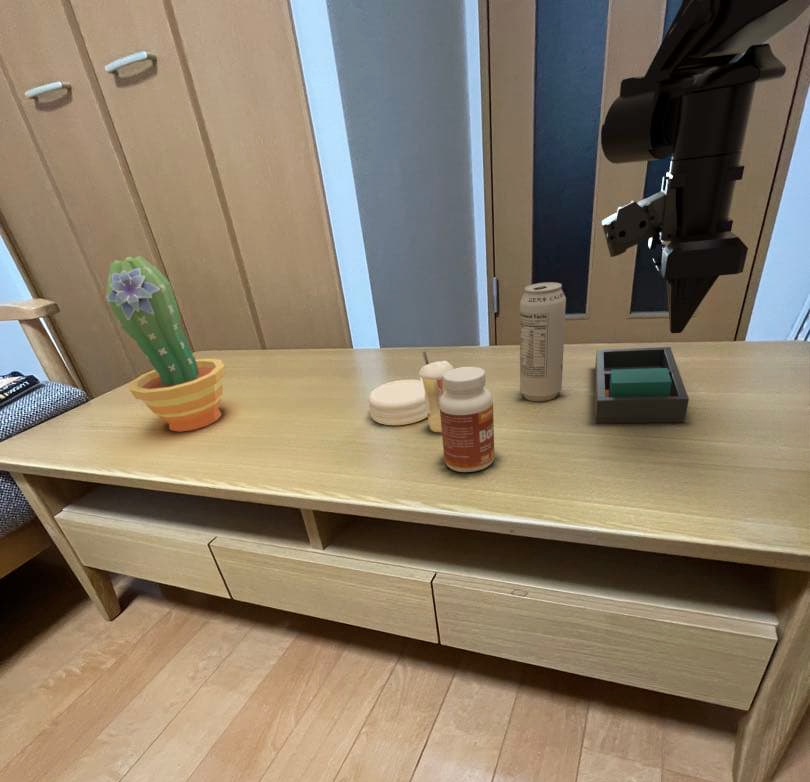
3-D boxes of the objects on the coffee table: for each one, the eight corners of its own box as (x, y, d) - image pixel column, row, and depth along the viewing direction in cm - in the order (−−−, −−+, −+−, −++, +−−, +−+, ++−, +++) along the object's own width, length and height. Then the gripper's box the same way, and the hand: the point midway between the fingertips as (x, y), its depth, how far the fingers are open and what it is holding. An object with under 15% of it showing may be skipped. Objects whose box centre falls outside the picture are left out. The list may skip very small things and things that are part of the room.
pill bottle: (490, 475, 61) (486, 383, 54) (439, 473, 63) (429, 384, 56) (498, 450, 65) (496, 362, 59) (451, 449, 67) (443, 364, 61)
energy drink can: (570, 394, 76) (576, 284, 67) (536, 406, 74) (538, 294, 66) (544, 384, 81) (546, 279, 72) (512, 394, 79) (510, 288, 70)
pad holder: (594, 369, 83) (596, 350, 81) (666, 367, 80) (670, 346, 78) (595, 423, 68) (597, 400, 66) (684, 422, 65) (689, 398, 63)
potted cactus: (129, 438, 86) (47, 273, 71) (189, 401, 97) (129, 251, 82) (202, 442, 80) (131, 263, 65) (257, 402, 91) (206, 242, 77)
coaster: (357, 419, 79) (353, 397, 77) (401, 395, 85) (398, 374, 83) (405, 432, 73) (401, 408, 71) (449, 406, 79) (447, 383, 77)
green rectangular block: (663, 393, 70) (667, 367, 68) (667, 408, 67) (671, 381, 65) (608, 394, 73) (611, 369, 70) (609, 408, 69) (612, 383, 67)
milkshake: (444, 416, 76) (438, 347, 70) (463, 428, 72) (458, 355, 66) (417, 425, 75) (408, 355, 69) (435, 437, 70) (427, 365, 65)
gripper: (609, 164, 57) (596, 314, 66) (614, 175, 42) (597, 364, 52) (724, 147, 53) (694, 308, 62) (771, 154, 39) (724, 359, 48)
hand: (675, 332), depth 56 cm, fingers closed
